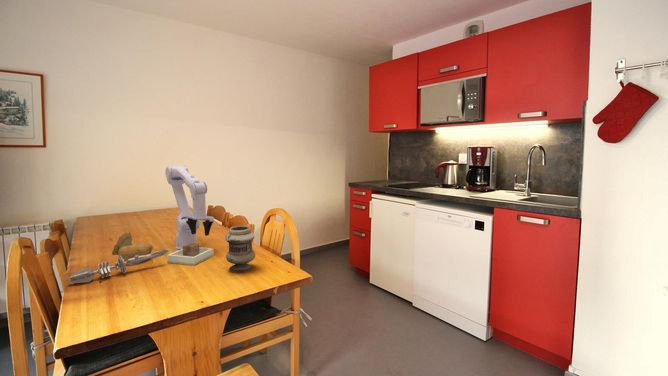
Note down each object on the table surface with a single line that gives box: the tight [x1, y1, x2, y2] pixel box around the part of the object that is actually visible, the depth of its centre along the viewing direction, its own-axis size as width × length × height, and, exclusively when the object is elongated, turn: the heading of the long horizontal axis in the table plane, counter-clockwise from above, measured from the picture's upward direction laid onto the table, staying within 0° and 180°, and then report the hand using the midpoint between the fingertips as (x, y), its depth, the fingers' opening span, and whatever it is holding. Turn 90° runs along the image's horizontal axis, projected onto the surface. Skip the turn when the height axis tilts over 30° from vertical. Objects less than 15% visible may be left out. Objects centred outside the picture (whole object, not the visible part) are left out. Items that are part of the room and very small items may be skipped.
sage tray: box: [166, 246, 214, 266], centre depth 151 cm, size 14×14×4 cm
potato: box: [117, 242, 154, 262], centre depth 148 cm, size 10×14×8 cm
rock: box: [111, 231, 133, 255], centre depth 162 cm, size 10×8×10 cm
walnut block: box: [182, 242, 200, 257], centre depth 151 cm, size 5×5×6 cm
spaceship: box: [67, 249, 169, 284], centre depth 133 cm, size 8×35×8 cm
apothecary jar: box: [225, 225, 256, 274], centre depth 138 cm, size 12×12×18 cm
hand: (200, 234), depth 159 cm, fingers open, 7 cm apart
